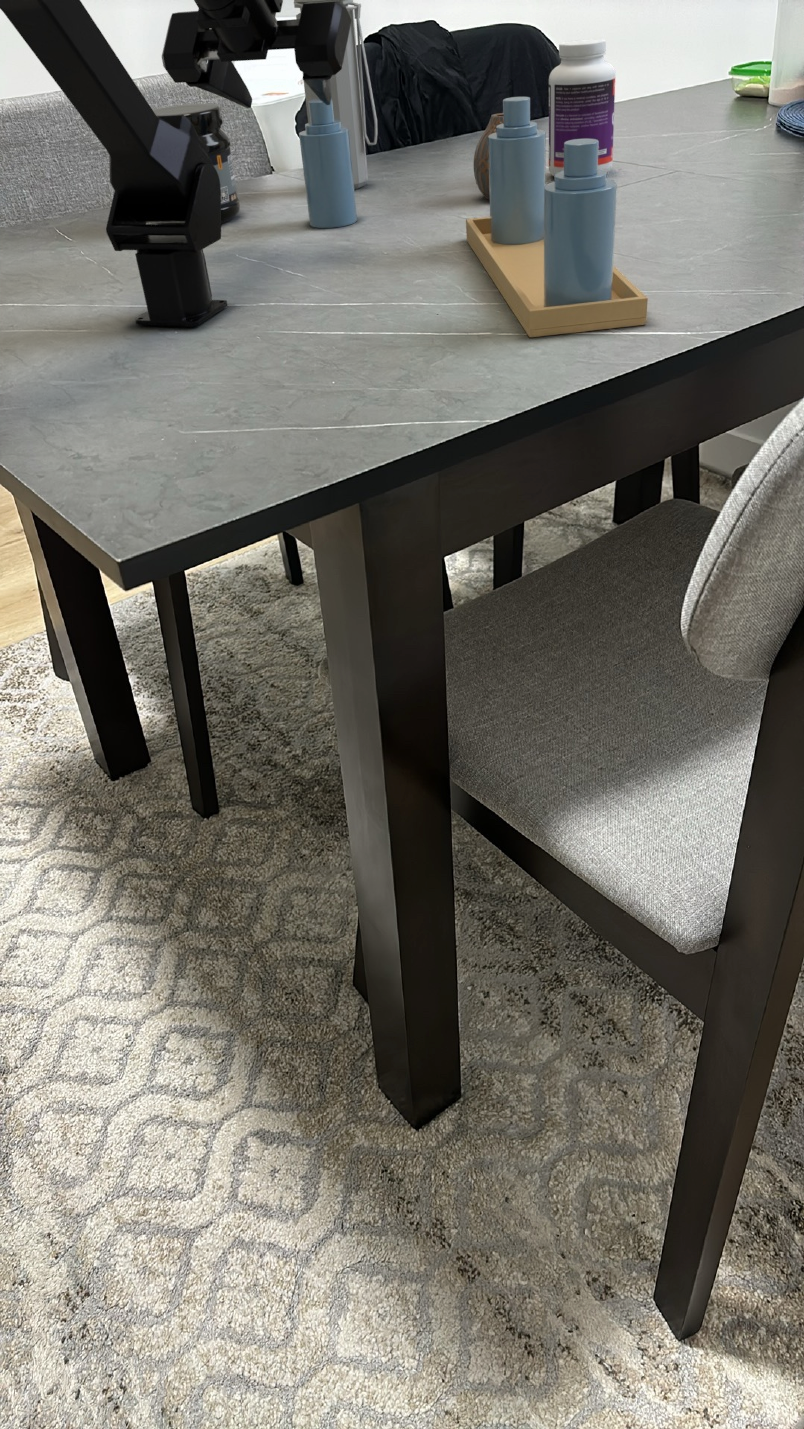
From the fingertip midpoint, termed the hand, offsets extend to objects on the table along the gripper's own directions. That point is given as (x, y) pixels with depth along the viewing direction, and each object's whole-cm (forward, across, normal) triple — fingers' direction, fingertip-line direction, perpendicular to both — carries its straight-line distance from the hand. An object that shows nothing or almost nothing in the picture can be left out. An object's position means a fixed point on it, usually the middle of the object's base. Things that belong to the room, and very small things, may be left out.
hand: (289, 102), depth 108 cm
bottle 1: (+8, -25, +10) cm, 28 cm away
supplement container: (+16, +19, +4) cm, 25 cm away
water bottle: (+29, +6, -9) cm, 31 cm away
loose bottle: (+15, 0, +4) cm, 16 cm away
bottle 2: (-8, -36, +27) cm, 46 cm away
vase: (+24, -17, -5) cm, 30 cm away
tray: (0, -31, +19) cm, 36 cm away
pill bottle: (+32, -24, -13) cm, 43 cm away
